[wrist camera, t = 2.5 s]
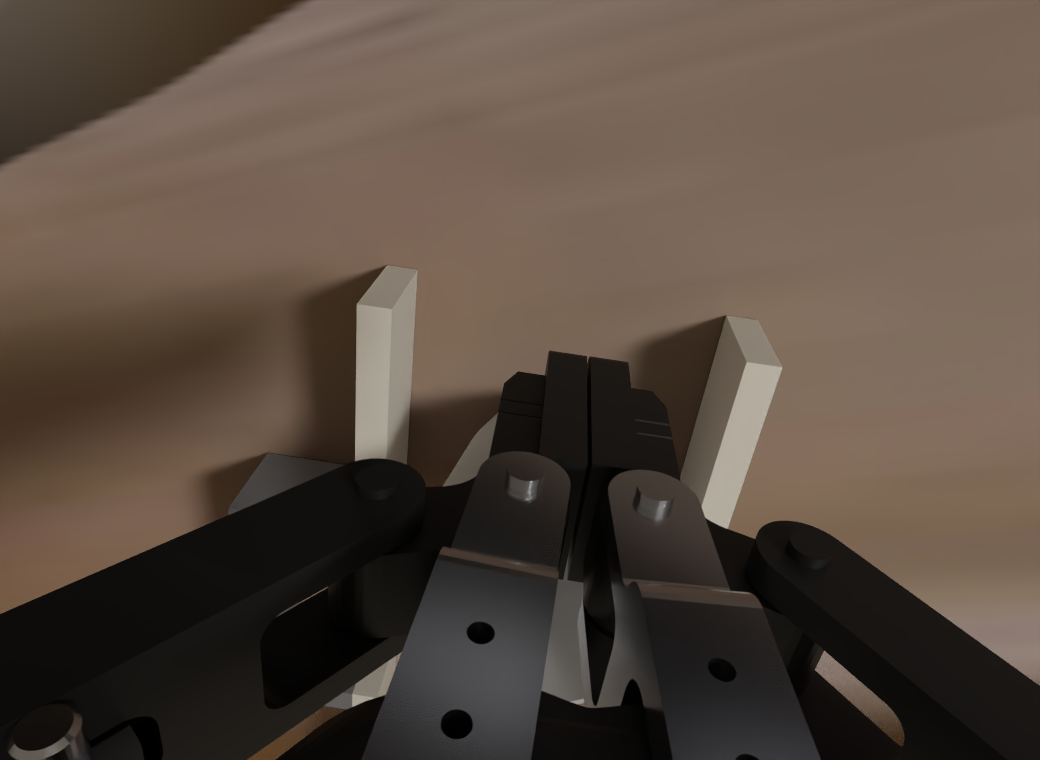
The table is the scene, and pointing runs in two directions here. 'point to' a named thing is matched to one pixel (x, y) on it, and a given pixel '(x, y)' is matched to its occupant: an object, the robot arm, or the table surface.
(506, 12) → the table surface
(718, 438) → the box
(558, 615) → the cup
